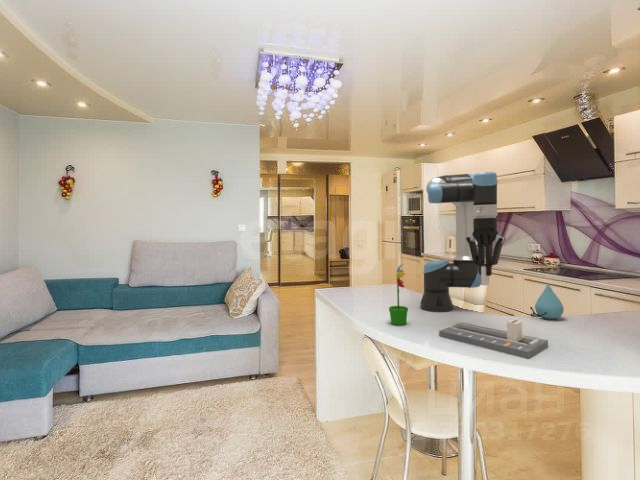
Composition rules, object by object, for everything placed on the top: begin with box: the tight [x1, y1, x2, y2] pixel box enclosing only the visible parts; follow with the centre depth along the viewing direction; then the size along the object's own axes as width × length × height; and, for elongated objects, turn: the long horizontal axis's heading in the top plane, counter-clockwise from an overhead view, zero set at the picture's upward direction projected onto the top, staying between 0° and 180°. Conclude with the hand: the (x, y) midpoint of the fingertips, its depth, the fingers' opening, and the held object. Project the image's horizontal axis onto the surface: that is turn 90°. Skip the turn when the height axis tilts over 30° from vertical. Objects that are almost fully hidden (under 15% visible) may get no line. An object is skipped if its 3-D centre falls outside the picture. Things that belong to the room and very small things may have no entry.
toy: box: [530, 283, 564, 320], centre depth 149 cm, size 15×12×15 cm
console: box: [438, 322, 549, 360], centre depth 122 cm, size 16×30×3 cm, turn 39°
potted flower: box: [388, 263, 409, 326], centre depth 146 cm, size 9×8×25 cm
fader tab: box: [506, 319, 523, 342], centre depth 116 cm, size 4×3×6 cm
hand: (485, 284), depth 123 cm, fingers closed
